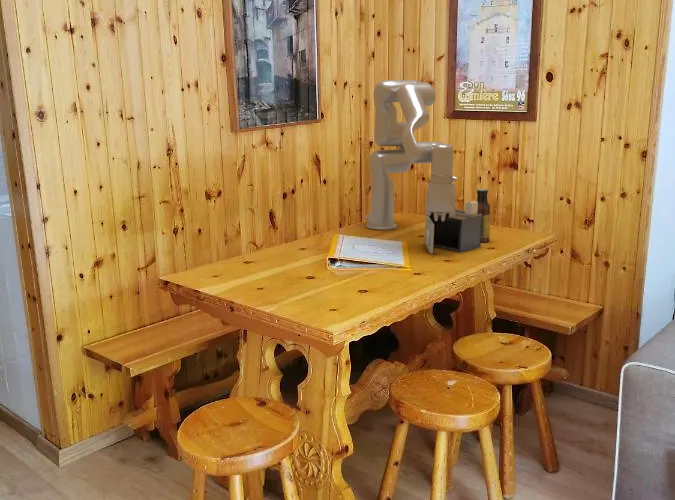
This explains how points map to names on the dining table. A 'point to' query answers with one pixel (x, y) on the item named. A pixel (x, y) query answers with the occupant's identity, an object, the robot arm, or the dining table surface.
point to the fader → (471, 207)
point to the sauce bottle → (484, 213)
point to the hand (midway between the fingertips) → (439, 231)
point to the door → (429, 234)
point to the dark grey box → (459, 232)
